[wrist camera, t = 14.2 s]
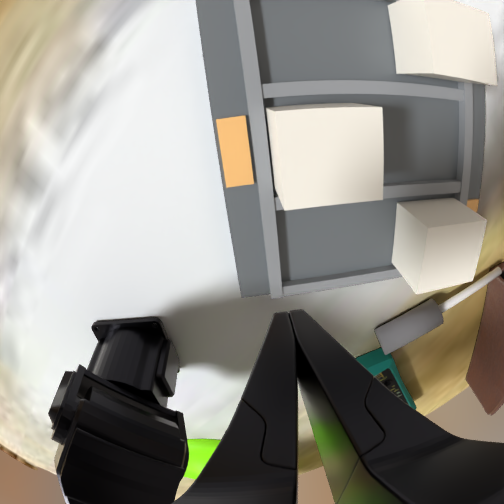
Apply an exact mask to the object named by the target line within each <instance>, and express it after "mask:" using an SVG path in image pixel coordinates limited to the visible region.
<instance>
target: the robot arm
mask: <svg viewBox="0 0 504 504" xmlns="http://www.w3.org/2000/svg"><path fill="white" fill-rule="evenodd" d="M153 323H156V324H157V325H155V324H153ZM92 331H93V332H94V334H95V336H96V338H97V340H98V343H97V346H96V348H95V351H94V353H93V356H92V358H91V361H90V363H89V366H88V368H87V370H86V368H85V367H83V366H82V365H80V364H79V366H78V368H77V370H76V372H75V371H73V372H70V371H65V373H64V376H63V378H62V380H61V383H60V385H59V388H58V390H57V393H56V395H55V397H54V400H53V403H52V405H51V408H50V410H49V413H48V414H49V417H50V419H51V421H52V423H53V424H52V428H51V429H53V433H52V437H51V439H52V440H54V441H56V442H58V443H59V446H58V449H57V452H56V455H55V460H54V461H55V467H56V472H57V476H58V480H59V483H60V486H61V489H62V493H63V495H64V499H65V502H66V504H298V384H299V388H300V391H301V394H302V398H303V401H304V404H305V407H306V411H307V414H308V417H309V420H310V424H311V427H312V430H313V433H314V437H315V440H316V443H317V446H318V450H319V453H320V456H321V459H322V463H323V466H324V469H325V472H326V476H327V479H328V482H329V485H330V489H331V492H332V495H333V499H334V502H335V504H504V443H496V442H486V441H476V440H468V439H464V438H460V437H457V436H455V435H452V434H450V433H448V432H447V431H445V430H444V429H442V428H441V427H439V426H438V425H436V424H435V423H433V422H432V421H430V420H429V419H428V418H426V417H425V416H423V415H422V414H420V413H419V412H418V411H416V410H415V409H413V408H412V407H411V406H409V405H408V404H407V403H405V402H404V401H403V400H401V399H400V398H399V397H397V396H396V395H395V394H394V393H393V392H391V391H390V390H389V389H388V388H387V387H386V386H384V385H383V384H382V383H381V382H380V381H379V380H378V379H377V378H376V377H374V376H373V375H372V374H371V373H370V372H369V371H368V370H367V369H366V368H365V367H364V366H363V365H362V364H361V363H360V362H359V361H357V360H356V359H355V358H354V357H353V356H352V355H351V354H350V353H349V352H348V351H347V350H346V349H345V348H343V347H342V346H341V345H340V344H339V343H338V342H337V341H336V340H335V339H334V338H333V337H332V336H331V335H330V334H329V333H327V332H326V331H325V330H324V329H323V328H322V327H321V326H320V325H319V324H318V323H317V322H316V321H315V320H314V319H313V318H311V317H310V316H309V315H308V314H307V313H306V312H305V311H304V310H302V309H300V310H293V311H290V312H289V313H288V312H279V313H275V314H274V315H273V317H272V320H271V322H270V325H269V328H268V330H267V333H266V336H265V338H264V341H263V344H262V346H261V349H260V351H259V354H258V357H257V359H256V362H255V364H254V367H253V370H252V372H251V375H250V377H249V380H248V382H247V385H246V387H245V390H244V392H243V395H242V397H241V400H240V402H239V404H238V407H237V409H236V412H235V414H234V416H233V418H232V420H231V422H230V425H229V427H228V429H227V430H226V432H225V434H224V436H223V437H222V439H221V441H220V443H219V444H218V446H217V447H216V449H215V451H214V452H213V454H212V455H211V457H210V459H209V460H208V462H207V463H206V465H205V466H204V468H203V469H202V471H201V473H200V474H199V476H198V477H197V479H196V480H195V481H194V483H193V484H192V485H191V487H190V488H189V489H188V490H187V491H186V492H185V493H184V494H183V495H182V496H181V497H179V498H178V499H177V500H175V495H176V492H177V489H178V486H179V483H180V481H181V479H182V478H183V476H184V474H185V472H186V469H187V466H188V461H189V448H188V442H187V436H186V430H185V423H184V417H183V413H181V412H179V411H173V410H171V409H168V408H167V401H168V397H173V395H174V393H175V386H176V379H177V373H178V372H179V370H180V366H179V358H178V356H177V353H176V351H175V348H174V346H173V343H172V341H171V340H170V339H168V337H167V335H166V332H165V330H164V327H163V324H162V322H161V320H160V319H158V318H144V319H132V320H118V321H103V322H94V323H93V325H92ZM297 380H298V381H297ZM174 500H175V501H174Z"/></svg>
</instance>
